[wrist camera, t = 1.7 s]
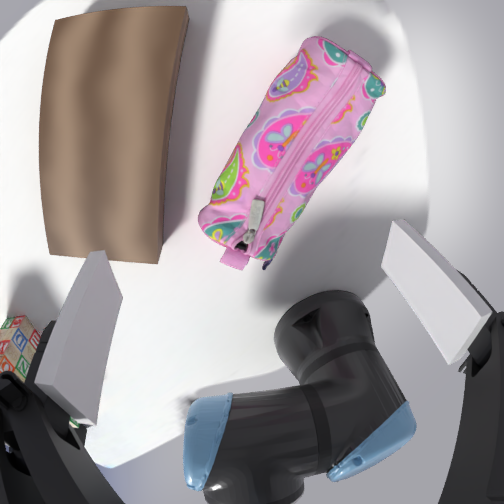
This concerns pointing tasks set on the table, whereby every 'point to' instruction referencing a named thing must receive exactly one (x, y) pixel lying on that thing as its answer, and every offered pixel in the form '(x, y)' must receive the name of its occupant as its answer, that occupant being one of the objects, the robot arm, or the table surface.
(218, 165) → the table surface
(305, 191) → the pencil case
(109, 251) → the walnut riser
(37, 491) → the robot arm
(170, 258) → the table surface
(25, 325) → the stack of blocks
